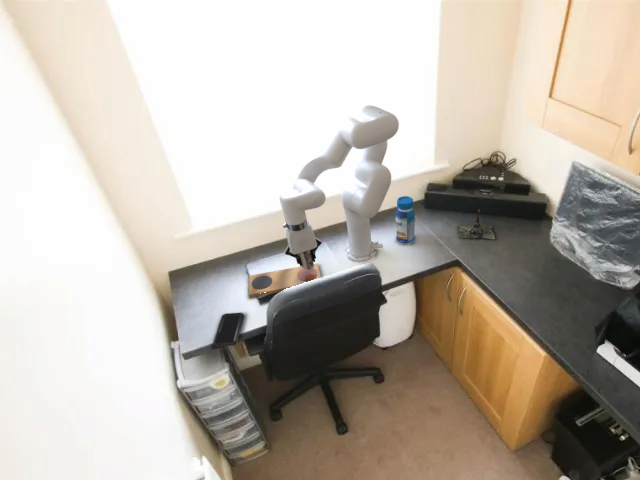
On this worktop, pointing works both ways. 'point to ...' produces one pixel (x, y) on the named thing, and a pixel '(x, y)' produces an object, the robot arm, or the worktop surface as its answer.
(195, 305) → the worktop surface
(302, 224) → the robot arm
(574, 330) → the worktop surface
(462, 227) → the eiffel tower figurine
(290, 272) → the board
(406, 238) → the beverage bottle
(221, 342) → the phone
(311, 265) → the beer can
